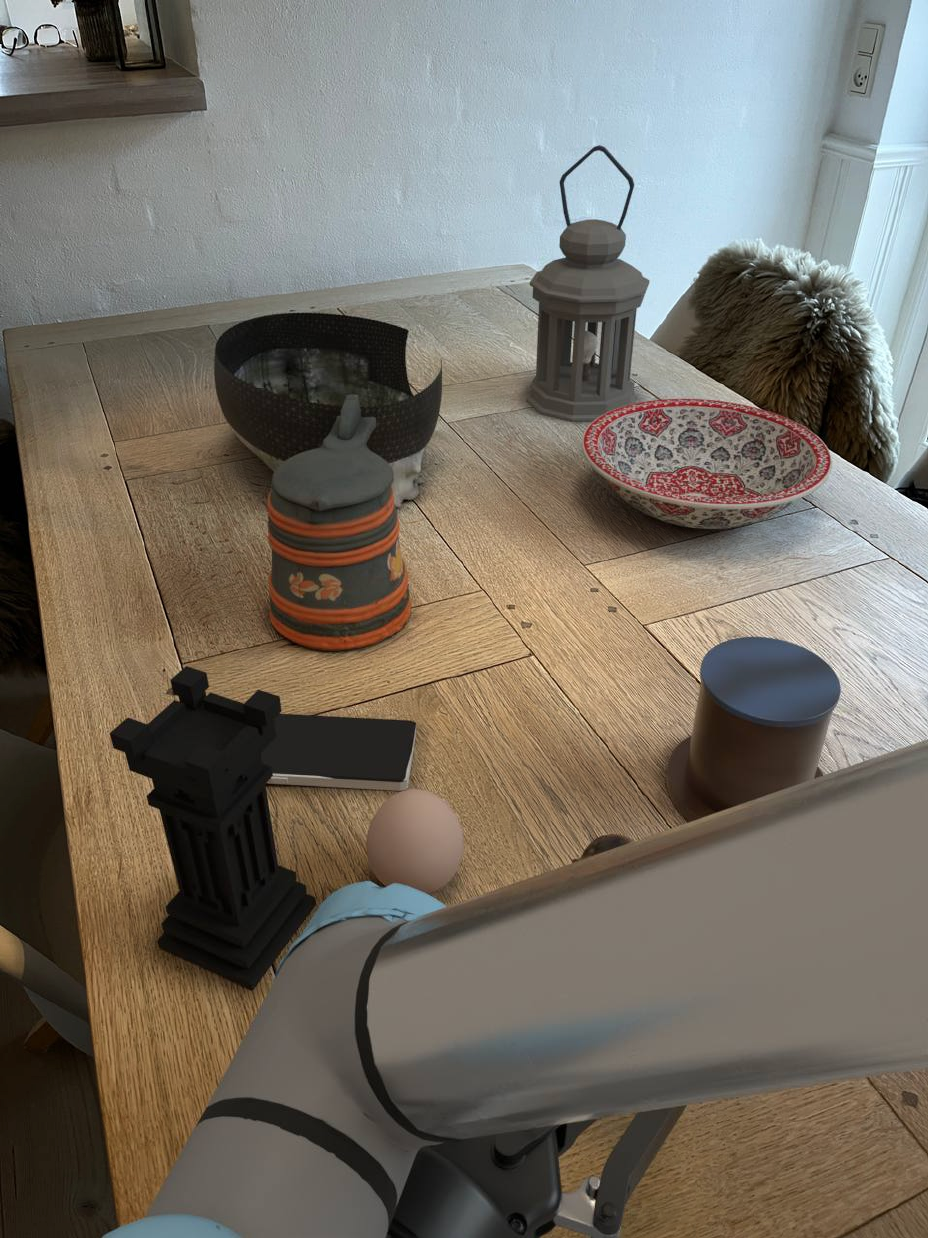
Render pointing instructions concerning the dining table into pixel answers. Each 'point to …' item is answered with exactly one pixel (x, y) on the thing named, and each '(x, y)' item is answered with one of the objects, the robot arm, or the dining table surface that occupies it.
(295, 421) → the basket
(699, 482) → the ceramic bowl
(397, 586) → the tankard
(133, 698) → the dining table surface
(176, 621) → the dining table surface
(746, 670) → the pedestal
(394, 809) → the egg
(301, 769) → the smartphone
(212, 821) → the chess piece
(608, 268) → the lantern
